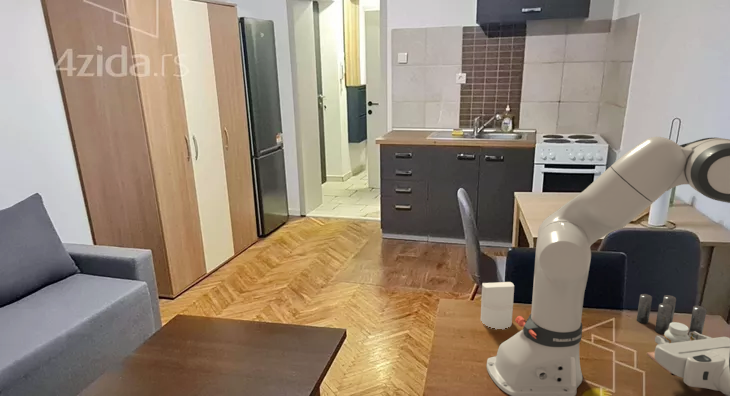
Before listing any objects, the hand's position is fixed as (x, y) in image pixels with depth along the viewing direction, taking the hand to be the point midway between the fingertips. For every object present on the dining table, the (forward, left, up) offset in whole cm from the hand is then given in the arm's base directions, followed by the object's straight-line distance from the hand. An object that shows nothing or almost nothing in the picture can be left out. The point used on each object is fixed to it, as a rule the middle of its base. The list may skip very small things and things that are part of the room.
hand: (674, 335), depth 114 cm
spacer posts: (+11, +14, -7) cm, 19 cm away
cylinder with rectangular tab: (-35, +26, -7) cm, 44 cm away
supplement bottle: (0, -1, -7) cm, 7 cm away
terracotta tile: (0, -1, -7) cm, 7 cm away
